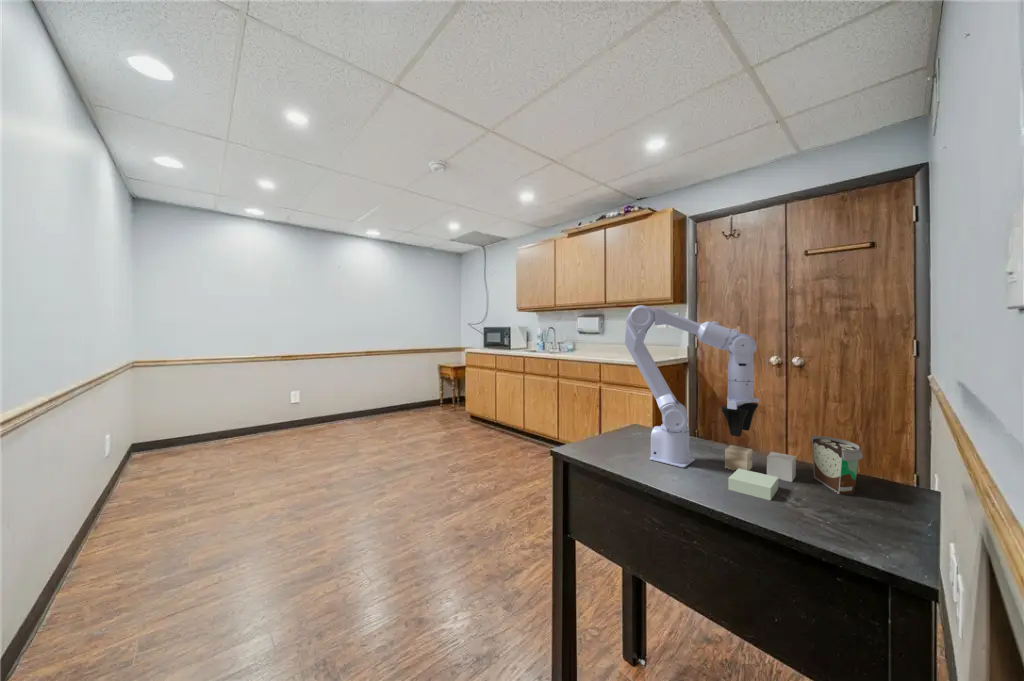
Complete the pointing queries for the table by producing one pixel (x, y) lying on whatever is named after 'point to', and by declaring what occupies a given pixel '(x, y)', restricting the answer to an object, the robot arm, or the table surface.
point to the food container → (836, 463)
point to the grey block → (781, 466)
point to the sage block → (753, 483)
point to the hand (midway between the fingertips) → (740, 432)
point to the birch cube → (738, 458)
